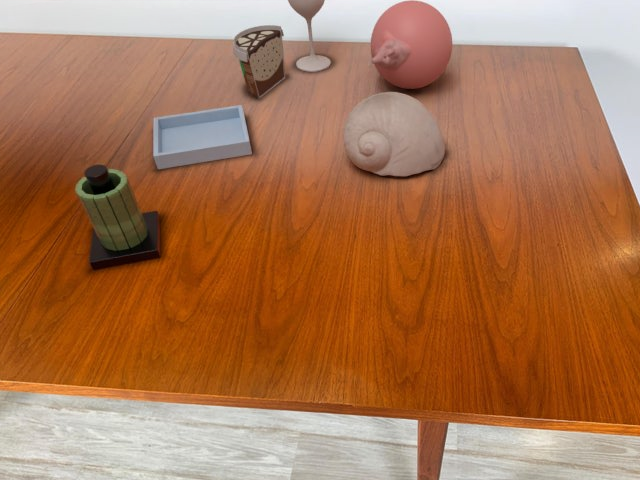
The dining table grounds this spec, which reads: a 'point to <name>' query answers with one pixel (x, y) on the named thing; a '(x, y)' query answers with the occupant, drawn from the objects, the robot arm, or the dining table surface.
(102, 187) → the post
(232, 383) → the dining table surface
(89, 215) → the ring sleeve
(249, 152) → the tray
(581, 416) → the dining table surface
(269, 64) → the food container
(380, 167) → the seashell
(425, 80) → the balloon
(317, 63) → the wineglass
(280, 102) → the dining table surface
